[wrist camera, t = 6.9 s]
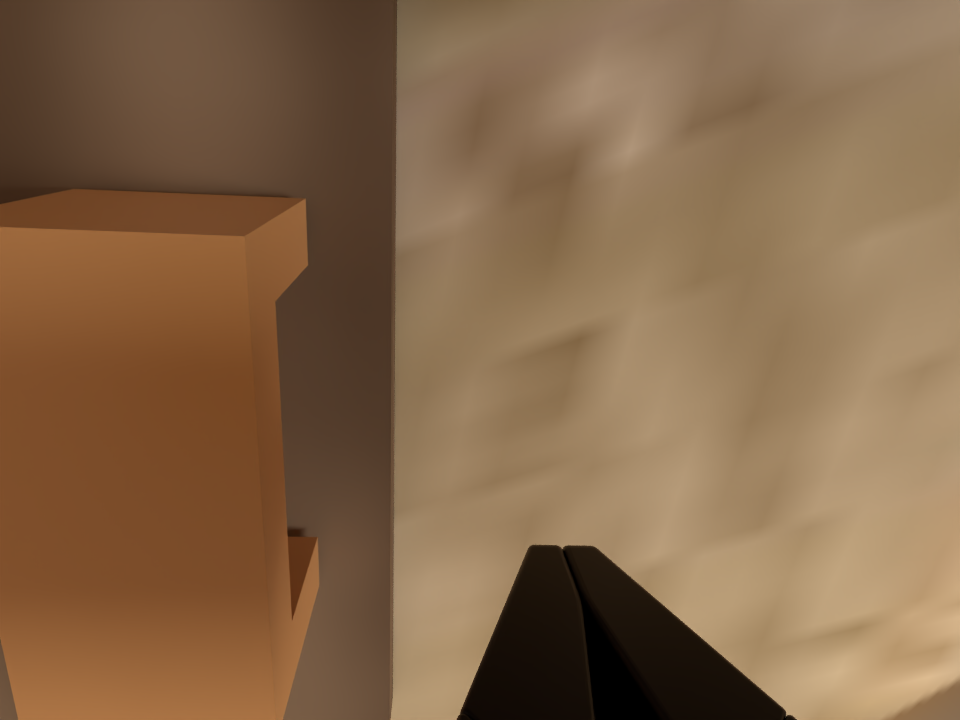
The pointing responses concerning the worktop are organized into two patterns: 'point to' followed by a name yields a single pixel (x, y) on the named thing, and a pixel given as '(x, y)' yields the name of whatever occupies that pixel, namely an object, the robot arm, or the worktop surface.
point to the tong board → (264, 173)
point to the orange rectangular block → (147, 457)
